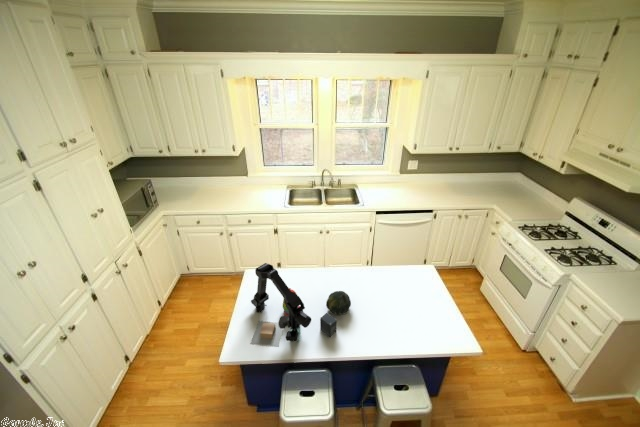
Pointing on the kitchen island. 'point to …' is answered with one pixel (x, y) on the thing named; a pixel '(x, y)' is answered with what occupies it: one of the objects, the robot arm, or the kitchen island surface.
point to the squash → (338, 302)
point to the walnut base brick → (267, 331)
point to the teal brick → (298, 331)
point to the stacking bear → (285, 306)
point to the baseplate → (265, 341)
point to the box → (328, 325)
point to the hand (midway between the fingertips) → (295, 335)
